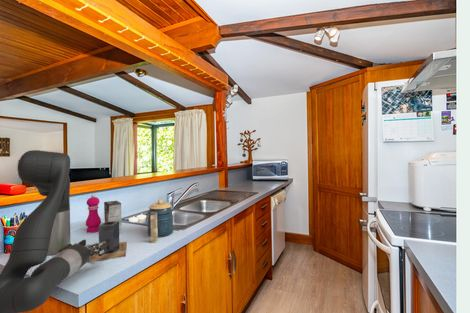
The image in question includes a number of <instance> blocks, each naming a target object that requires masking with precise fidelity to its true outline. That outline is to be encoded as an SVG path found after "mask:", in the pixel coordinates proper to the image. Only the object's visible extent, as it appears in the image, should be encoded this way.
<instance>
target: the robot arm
mask: <svg viewBox="0 0 470 313" xmlns="http://www.w3.org/2000/svg"><path fill="white" fill-rule="evenodd" d="M70 170H71V158H70V155H69V154H67V153H64V152H57V151H56V152H55V151H47V150H37V149H33V150H27V151H25V152H24V153H23V154H22V155H21V157H20V158H19V159H18V162H17V174H18V177H19V179H20V181H22V182H23V183H26V184H31V185H33V186H34V187H35V188H36V189H37V191H38V193H39V194H40V196H43V197H45V198H44V199H43V201H42V202H41V203H39V205H38V206H36V208H35V209H34V210H33V211H31V212H30V213H29V214H28V215H27V216H26V217H25V218H24V219H23V221H21V223H20V224H19V225H18V227H17V229H16V231H15V234H14V237H13V240H12V244H11V248H10V253H9V257H8V260H7V262H6V263H5V265H4V267H3V268H2V270H1V272H0V313H27V312H31V311H33V310H36V309H37V308H39V307H42V305H44V304H45V303H46V301H48V299H49V298H50V297H51V294H52V293H53V292H54V290H55V289H56V287H57V286H58V285H59V284H61V283H62V282H63V281H64V280H65V279H68V278H70V277H71V276H72V275H73V274H75V273H76V272H77V271H78V270H80V269H81V268H82V267H83V266H84V265H86V263H87V262H88V260H90V257H91V256H93V255H95V254H98V256H102V255H104V254H105V253H106V252H108V251H109V250H110V239H106V240H105V241H103V242H102V243H99V242H95V243H91V244H87V240H86V239H81V241H79V242H75V243H73V244H72V243H71V241H72V240H71V205H70V204H71V203H70V190H71V178H70V175H69V174H70ZM100 245H102V246H101V247H100ZM95 246H96V250H95V248H94V247H95ZM52 255H54V256H52ZM48 256H52V257H51V258H50V259H48V260H47V257H48ZM33 267H36V268H35V269H34V270H33V271H32V273H31V275H29V276H30V277H25V276H26V274H27V273H28V271H29V270H30V269H31V268H33Z"/></svg>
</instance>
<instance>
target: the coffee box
mask: <svg viewBox="0 0 470 313" xmlns="http://www.w3.org/2000/svg"><path fill="white" fill-rule="evenodd" d="M103 207H104V208H103V209H104V211H103V212H104V214H103V215H104V222H110V221H119V235H120V234H122V231H123V230H122V202H120V201H118V200H111V201H104V204H103Z"/></svg>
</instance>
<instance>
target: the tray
mask: <svg viewBox="0 0 470 313" xmlns="http://www.w3.org/2000/svg"><path fill="white" fill-rule="evenodd" d="M127 243H128V242H127V241H121V242H120V241H119V245H120V249H119V250H118V251H117V252H115V253H109V254H104V255H102V256H98V254H95V255H93V256H91V257H89V263H95V262H96V263H97V262H102V261H107V260H111V259H118V258H124V257H126V256H127ZM93 247H94V248H95V250H96V246H93Z"/></svg>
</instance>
